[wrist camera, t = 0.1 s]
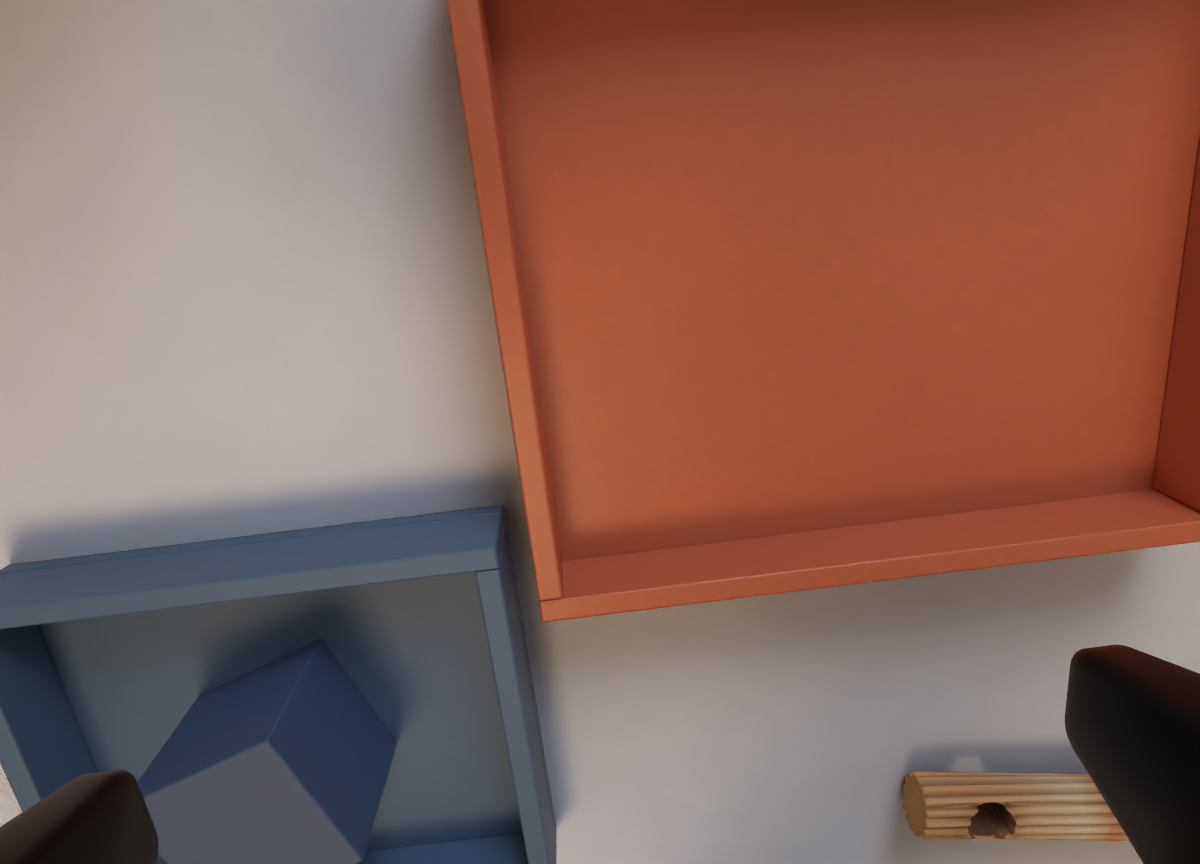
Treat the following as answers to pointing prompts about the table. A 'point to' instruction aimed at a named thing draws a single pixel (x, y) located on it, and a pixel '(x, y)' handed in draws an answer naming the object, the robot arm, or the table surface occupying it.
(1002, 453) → the terracotta tray
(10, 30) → the table surface
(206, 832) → the blue block
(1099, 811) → the paintbrush
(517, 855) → the blue tray
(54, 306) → the table surface
